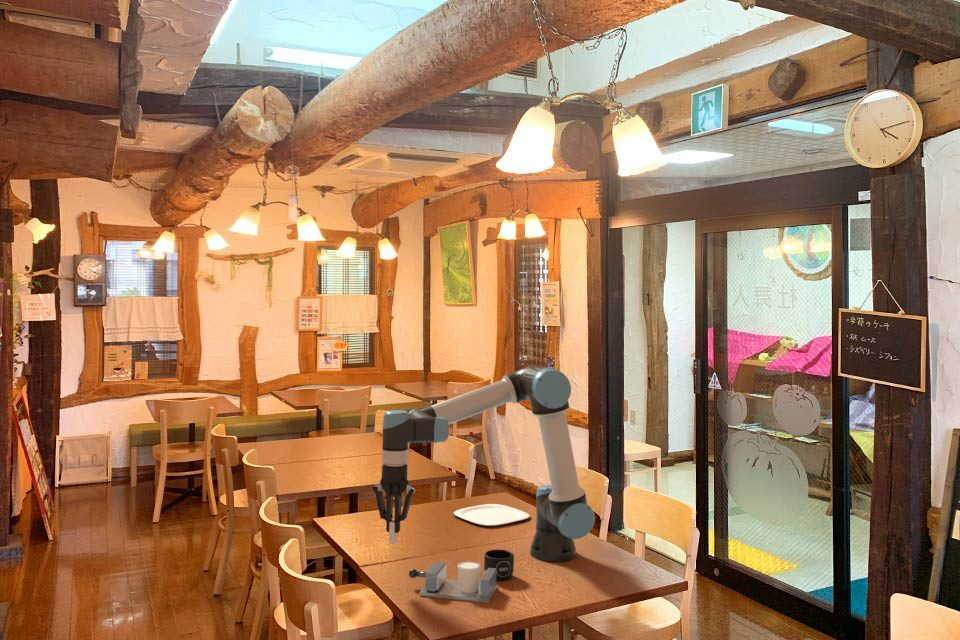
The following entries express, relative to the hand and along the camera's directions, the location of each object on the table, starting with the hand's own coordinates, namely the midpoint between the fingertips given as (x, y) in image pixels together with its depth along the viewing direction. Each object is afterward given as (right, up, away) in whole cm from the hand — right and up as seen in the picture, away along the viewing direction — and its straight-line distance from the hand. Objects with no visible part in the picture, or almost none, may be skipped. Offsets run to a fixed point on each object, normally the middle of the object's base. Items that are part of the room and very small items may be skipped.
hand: (392, 542), depth 230 cm
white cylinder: (+22, -12, -5) cm, 26 cm away
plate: (+30, -11, +73) cm, 79 cm away
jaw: (+10, -11, -2) cm, 15 cm away
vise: (+20, -13, -4) cm, 24 cm away
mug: (+31, -13, +10) cm, 35 cm away
